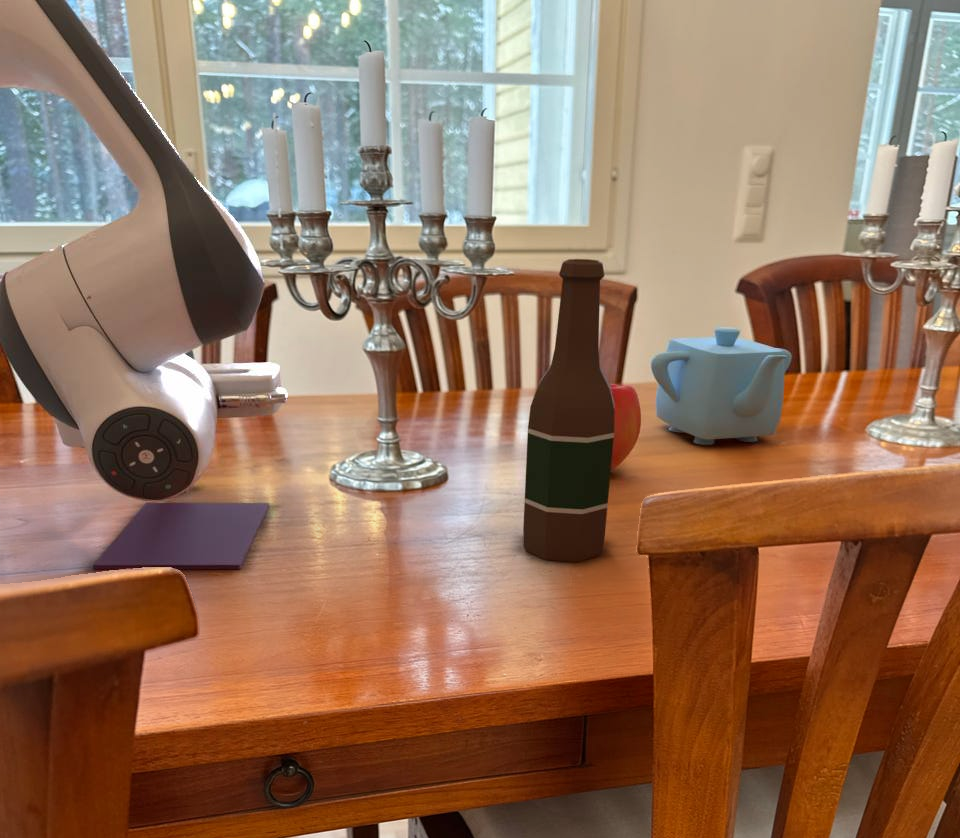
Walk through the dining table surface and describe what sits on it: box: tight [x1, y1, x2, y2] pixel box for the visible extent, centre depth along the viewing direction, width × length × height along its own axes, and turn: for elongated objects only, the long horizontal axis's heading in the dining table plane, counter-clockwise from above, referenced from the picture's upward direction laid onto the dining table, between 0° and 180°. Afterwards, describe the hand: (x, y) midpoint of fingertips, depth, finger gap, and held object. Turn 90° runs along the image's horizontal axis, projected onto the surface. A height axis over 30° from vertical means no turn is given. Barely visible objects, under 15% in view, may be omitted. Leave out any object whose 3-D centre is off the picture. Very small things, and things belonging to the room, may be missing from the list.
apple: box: [609, 382, 642, 472], centre depth 100 cm, size 10×10×10 cm
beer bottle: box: [522, 258, 615, 563], centre depth 75 cm, size 8×8×24 cm
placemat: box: [92, 502, 270, 570], centre depth 81 cm, size 12×16×1 cm
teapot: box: [650, 326, 793, 446], centre depth 115 cm, size 18×16×14 cm
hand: (174, 373), depth 87 cm, fingers open, 8 cm apart
